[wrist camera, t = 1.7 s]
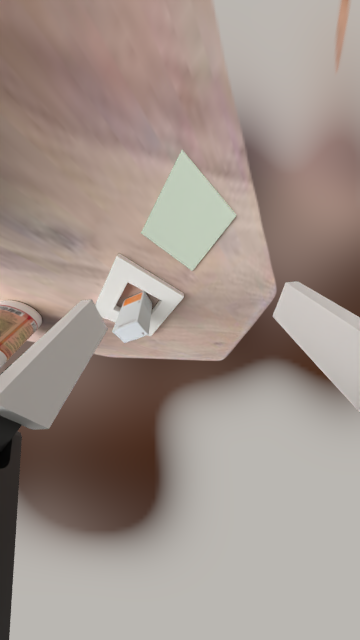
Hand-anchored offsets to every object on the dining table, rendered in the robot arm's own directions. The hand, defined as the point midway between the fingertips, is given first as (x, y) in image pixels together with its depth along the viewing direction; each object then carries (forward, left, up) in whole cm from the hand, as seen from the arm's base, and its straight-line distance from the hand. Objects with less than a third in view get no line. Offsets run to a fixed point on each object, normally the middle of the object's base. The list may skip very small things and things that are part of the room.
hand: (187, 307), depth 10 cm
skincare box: (+1, -17, -24) cm, 30 cm away
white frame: (+1, -17, -24) cm, 30 cm away
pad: (+1, +4, -24) cm, 24 cm away
